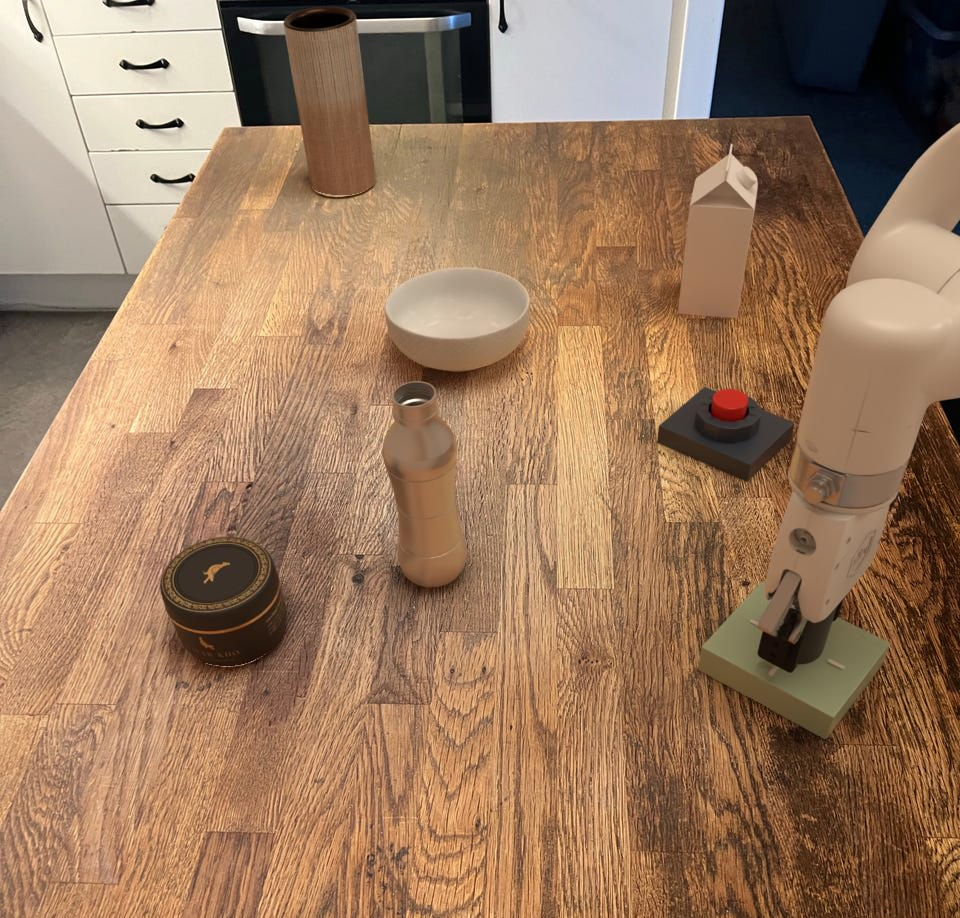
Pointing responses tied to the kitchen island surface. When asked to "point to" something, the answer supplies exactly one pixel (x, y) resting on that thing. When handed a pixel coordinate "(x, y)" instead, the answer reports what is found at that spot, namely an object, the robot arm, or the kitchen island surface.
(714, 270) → the milk carton
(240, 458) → the kitchen island surface
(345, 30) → the planter
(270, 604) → the jar
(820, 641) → the knob
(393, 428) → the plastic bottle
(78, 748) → the kitchen island surface
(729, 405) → the button
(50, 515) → the kitchen island surface
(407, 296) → the cereal bowl
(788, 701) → the panel
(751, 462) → the button block
